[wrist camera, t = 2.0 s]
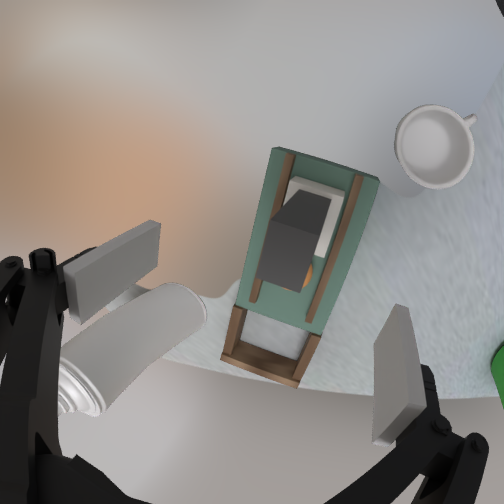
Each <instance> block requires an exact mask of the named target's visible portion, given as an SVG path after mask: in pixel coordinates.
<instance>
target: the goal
mask: <svg viewBox="0 0 504 504" xmlns="http://www.w3.org/2000/svg"><path fill="white" fill-rule="evenodd" d="M235 304H236V303H235ZM235 304H234V306H233V309H232V313H231V318H230V322H229V327H228V331H227V336H226V340H225V344H224V349H223V352H222V354H221V358H220V360H222V361H224V362H227V363H229V364H232V365H234V366H237V367H239V368H242V369H244V370H247V371H249V372H252V373H255V374H257V375H260V376H263V377H265V378H268V379H271V380H273V381H276V382H279V383H282V384H285V385H288V386H291V387H294V388H297V387H298V385H299V383H300V380H301V378H302V376H303V374H304V372H305V370H306V368H307V366H308V364H309V362H310V360H311V358H312V356H313V354H314V352H315V350H316V348H317V346H318V343H319V341H320V339H321V336H322V334H321V335H318V334H315V333H312V332H310V333H309V336H308V338H307V340H306V343H305V345H304V347H303V349H302V352H301V354H300V356H299V358H298V361H295V360H292V359H289V358H286V357H283V356H281V355H278V354H275V353H272V352H270V351H267V350H264V349H261V348H259V347H256V346H254V345H251V344H248V343H246V342H243V341H241V340H240V337H241V333H242V329H243V326H244V322H245V318H246V314H247V310H248V309H245V308H243V307H240V306H237V305H235Z"/></svg>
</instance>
